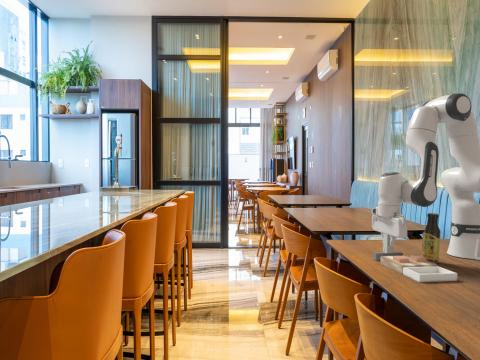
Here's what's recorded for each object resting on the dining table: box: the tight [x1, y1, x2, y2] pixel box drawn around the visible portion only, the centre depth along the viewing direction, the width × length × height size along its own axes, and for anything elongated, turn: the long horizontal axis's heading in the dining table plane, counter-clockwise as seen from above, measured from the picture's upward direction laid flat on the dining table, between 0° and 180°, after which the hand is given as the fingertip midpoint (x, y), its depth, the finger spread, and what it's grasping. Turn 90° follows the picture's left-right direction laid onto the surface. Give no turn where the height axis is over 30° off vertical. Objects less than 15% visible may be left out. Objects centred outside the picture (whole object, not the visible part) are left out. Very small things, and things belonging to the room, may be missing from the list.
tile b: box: [393, 255, 409, 263], centre depth 134 cm, size 4×4×2 cm
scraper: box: [372, 233, 404, 262], centre depth 149 cm, size 12×3×11 cm, turn 99°
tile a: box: [410, 254, 426, 262], centre depth 135 cm, size 4×4×2 cm
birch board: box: [379, 255, 438, 275], centre depth 136 cm, size 14×14×3 cm
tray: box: [402, 265, 458, 283], centre depth 124 cm, size 14×9×2 cm, turn 99°
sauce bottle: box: [421, 212, 441, 264], centre depth 145 cm, size 6×6×20 cm
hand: (388, 244), depth 149 cm, fingers closed on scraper, 3 cm apart
